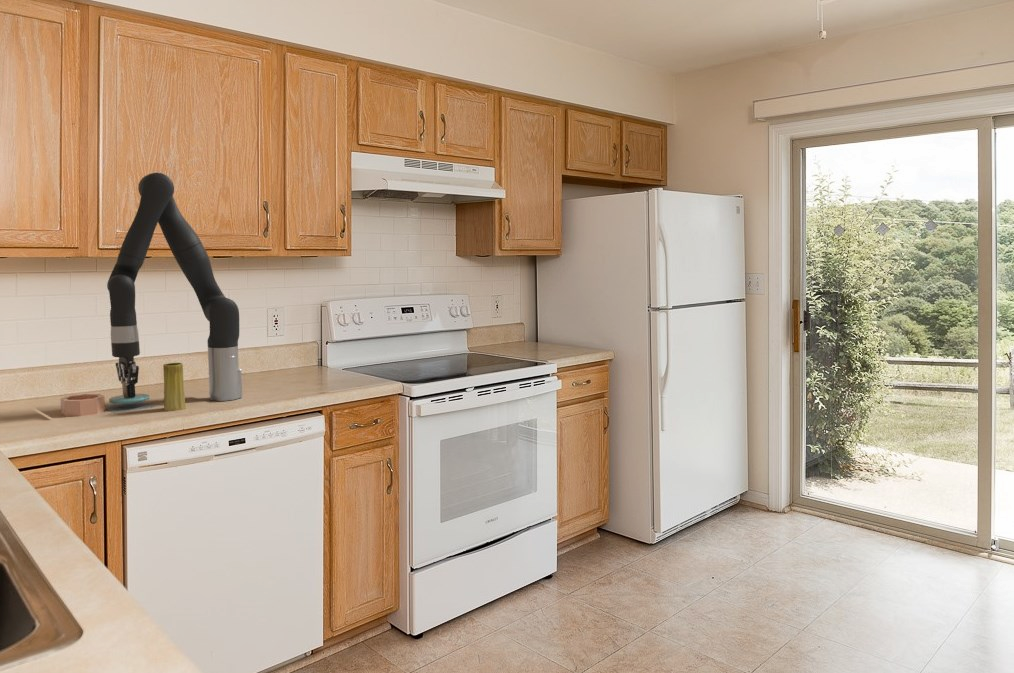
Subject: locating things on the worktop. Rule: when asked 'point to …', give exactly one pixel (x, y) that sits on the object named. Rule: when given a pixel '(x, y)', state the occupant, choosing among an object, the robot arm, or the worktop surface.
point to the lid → (125, 399)
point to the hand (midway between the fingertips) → (129, 396)
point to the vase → (173, 387)
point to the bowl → (82, 404)
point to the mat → (128, 407)
